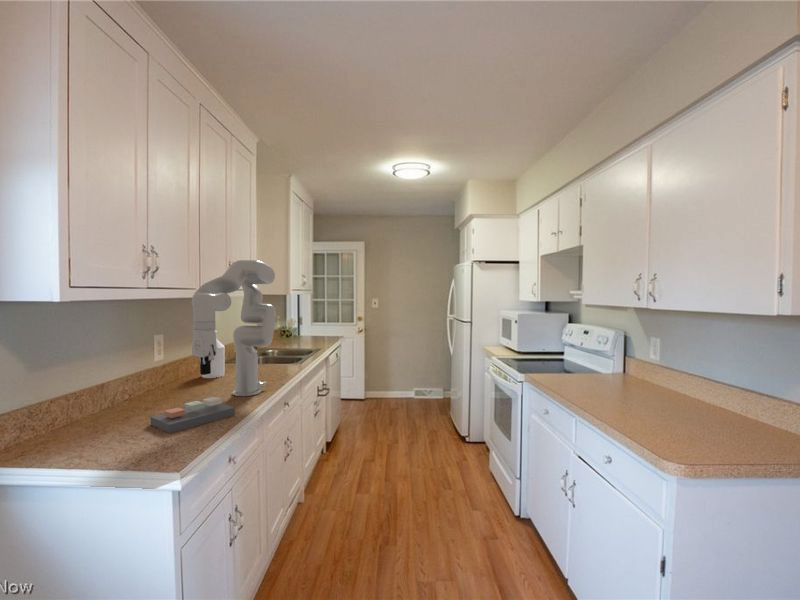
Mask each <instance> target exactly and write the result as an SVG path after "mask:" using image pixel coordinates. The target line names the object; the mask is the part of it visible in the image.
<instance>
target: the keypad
mask: <svg viewBox="0 0 800 600" xmlns="http://www.w3.org/2000/svg"><path fill="white" fill-rule="evenodd" d="M183 409H184V410H185V415H182V416H178V417H174V418H169V417H166V416H164V413H162V414H161V413H160V414H157V415H151V416H150V426H151V425H153V426H152V427H154V426H155V427H154V428H156V427H157V428H156V429H158V428H160V429H162V430H161V431H163V430H164V431H163V432H165V431H166V432H165V433H167V432H168V433H167V434H173V433H177V432H180V431H183V430H182V429H184V430H187V429H186V428H188V429H190V427H191V428H194V427H193V426H195V427H197V425H198V426H201V424H202V425H205V424H209V423H212V421H213V422H216V421H219V419H220V420H223V419H227V418H230V417H234V416H235V415H236V411H235V410H236V407H233V406H230V405H227V404H224V403H221V404H217V405H213V406H208V405H204V408H200V409H196V410H192V411H190V410H187V409H185V408H183ZM233 415H234V416H233ZM229 416H230V417H229ZM226 417H227V418H226ZM222 418H223V419H222ZM215 420H216V421H215ZM160 429H159V430H160ZM179 430H180V431H179ZM176 431H177V432H176ZM172 432H173V433H172Z"/></svg>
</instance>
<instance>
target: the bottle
mask: <svg viewBox="0 0 800 600" xmlns="http://www.w3.org/2000/svg"><path fill="white" fill-rule="evenodd" d="M215 334H216V345H217V353H216V355H215V356H214V360H211V373H210V374H206V375H202V374H201V377H202V378H204V379H217V378H222V377H224V376H225V366H226V365H225V362H226V361H225V360H226V356H225V355H226V354H225V353H226V351H225V350H226V348H225V347H226V346H225V345H224V344H223V343H222V342H220V341H219V339H218V330H215ZM221 376H222V377H221ZM216 377H217V378H216Z"/></svg>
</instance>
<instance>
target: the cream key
mask: <svg viewBox="0 0 800 600" xmlns="http://www.w3.org/2000/svg"><path fill="white" fill-rule="evenodd" d="M222 400H223V399H222V398H221V397H218V396H211V397H207V398H205V399H203V398H202V402H203V403H204V405H208V406H213V405H217V404H223V401H222Z"/></svg>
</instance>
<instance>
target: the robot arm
mask: <svg viewBox="0 0 800 600" xmlns="http://www.w3.org/2000/svg"><path fill="white" fill-rule="evenodd" d="M275 273H276V272H275V270H274V268H273V267H272V266H270V265H269V264H267V263H265V262H263V261H260V260H255V259H253V260H252V259H251V260H250V259H249V260H248V259H243V260H241V259H240V260H236V261H234V262H233V263H232V264H231V265H230V266H229V267H228V268H227V270H226V271H225V272H224V273H223V274H222V275H220V276H218V277H216V278H214V279H211V280H209V281H207V282H205V283H204V284H202V285H201V286H199V288H198V289H197V290H196V291H195V292H194V293H193V295H192V298H191V305H192V321H193V322H192V324H193V325H192V329H193V331H192V338H191V339H192V340H191V343H192V344H191V354H192V356H195V357H196V358H198V362H199V370H200V371H199V373H200V375H201V376H202V375H206V374H210V373H211V360H214V356H215V355H216V353H217V345H216V334H215V331H216V328H217V327H216V312H225V311H227V310H229V309H230V307H231V305H232V297H231V296H230V295H229V294H231V293H234V292H236V291H238V290H239V289H240V288H242V291H243V300H242V306H241V310H240V319H241V321H242V322H243V323H245V324H251V325H241V326H240V325H239V326H238V327H236V328H235V330H234V331H233V334H232V335H233V338H232V339H233V343H234V349H235V389H234V390H233V391H232V392H231V393H232V396H234V395H235V396H234V397H250V396H256V395H259V394H261V393H262V389H261V388H262V387H266V386H267V381H262V382H261V381H259V380H258V379H259V377H258V376H259V375H258V373H259V372H258V371H259V370H258V369H259V368H258V365H259V364H258V360H259V359H258V352H257V350H256V349H255V348H254V347H268V346H270V345H271V344H272V342H273V338H274V333H275V327H276V319H277V318H276V317H277V312H276V308H275V307H274V305H272V304H270V303H263V298H264V297H263V293H262V291H261V289H260V288H259V287H258V285H271V284H273V283H274V282H275V281H274V280H275V278H276V274H275ZM253 324H255V325H253ZM258 324H259V325H258Z"/></svg>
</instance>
